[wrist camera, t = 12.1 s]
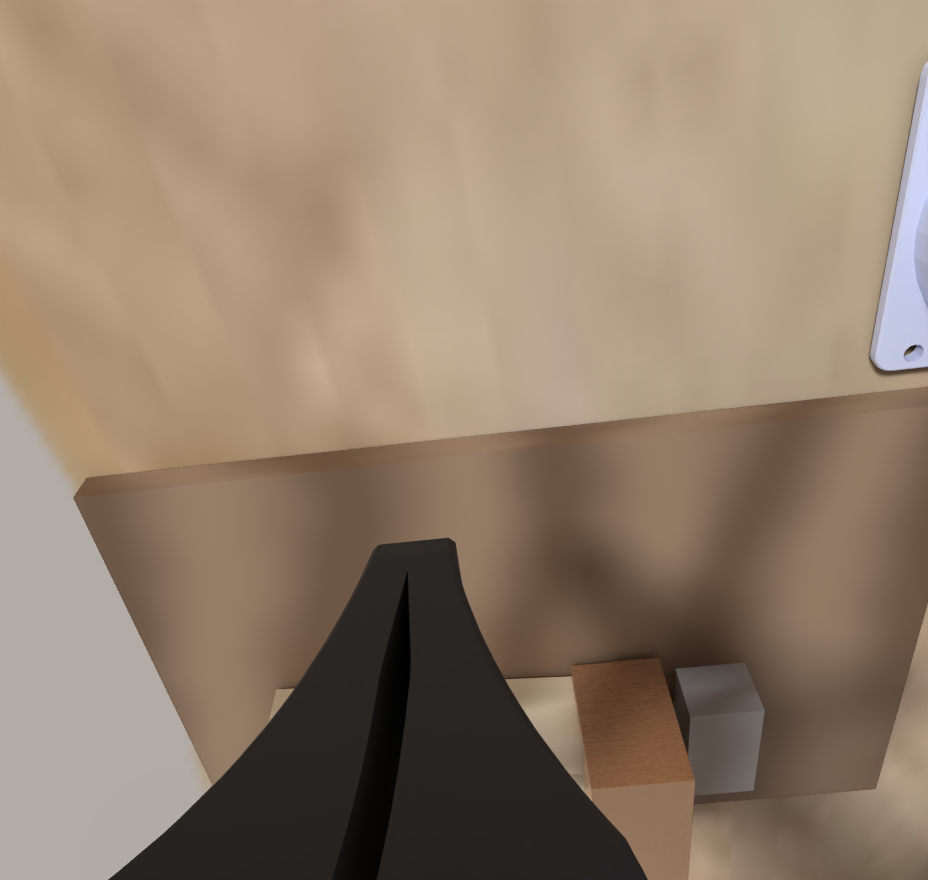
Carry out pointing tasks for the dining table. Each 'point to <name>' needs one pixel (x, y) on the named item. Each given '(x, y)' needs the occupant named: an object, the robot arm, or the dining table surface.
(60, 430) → the dining table surface
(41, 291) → the dining table surface
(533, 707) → the bar
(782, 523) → the tongs base
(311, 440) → the dining table surface
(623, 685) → the brown rectangular block
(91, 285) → the dining table surface
